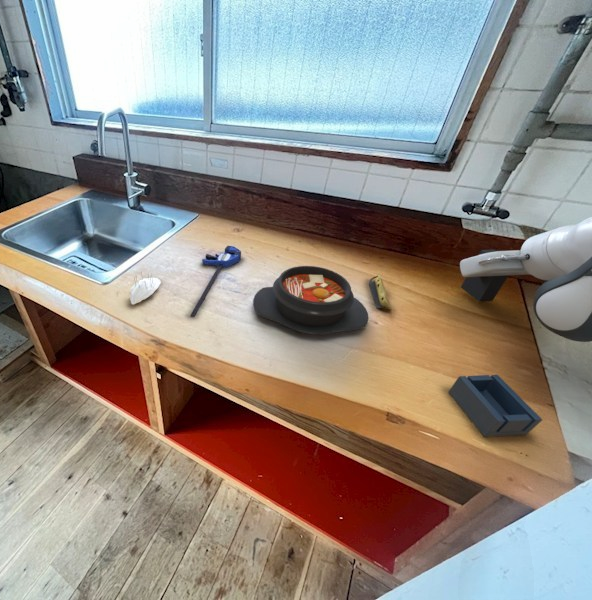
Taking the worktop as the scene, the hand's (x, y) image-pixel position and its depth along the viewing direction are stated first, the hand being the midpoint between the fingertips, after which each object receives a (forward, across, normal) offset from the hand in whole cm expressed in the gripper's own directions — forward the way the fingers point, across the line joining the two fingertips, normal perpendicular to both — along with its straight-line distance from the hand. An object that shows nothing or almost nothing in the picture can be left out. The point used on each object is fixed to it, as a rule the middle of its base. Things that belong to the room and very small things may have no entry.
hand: (485, 272), depth 72 cm
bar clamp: (+14, -61, +4) cm, 63 cm away
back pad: (+3, 0, -4) cm, 5 cm away
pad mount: (-16, -19, -26) cm, 36 cm away
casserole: (+3, -40, -7) cm, 41 cm away
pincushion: (+11, -78, 0) cm, 79 cm away
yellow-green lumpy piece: (+7, -20, -3) cm, 22 cm away
